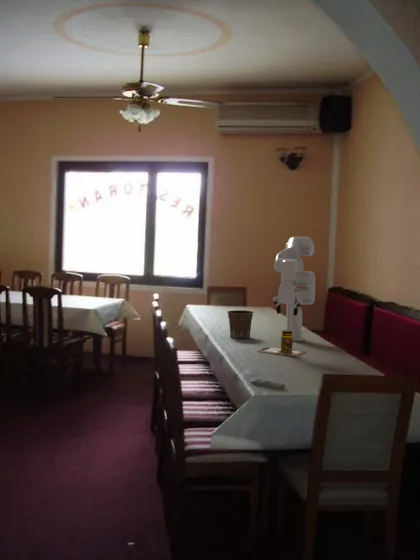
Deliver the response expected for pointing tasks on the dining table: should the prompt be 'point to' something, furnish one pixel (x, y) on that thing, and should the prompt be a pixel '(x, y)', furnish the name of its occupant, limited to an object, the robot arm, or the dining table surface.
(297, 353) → the clipboard
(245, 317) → the plant pot
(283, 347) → the condiment
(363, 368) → the dining table surface
